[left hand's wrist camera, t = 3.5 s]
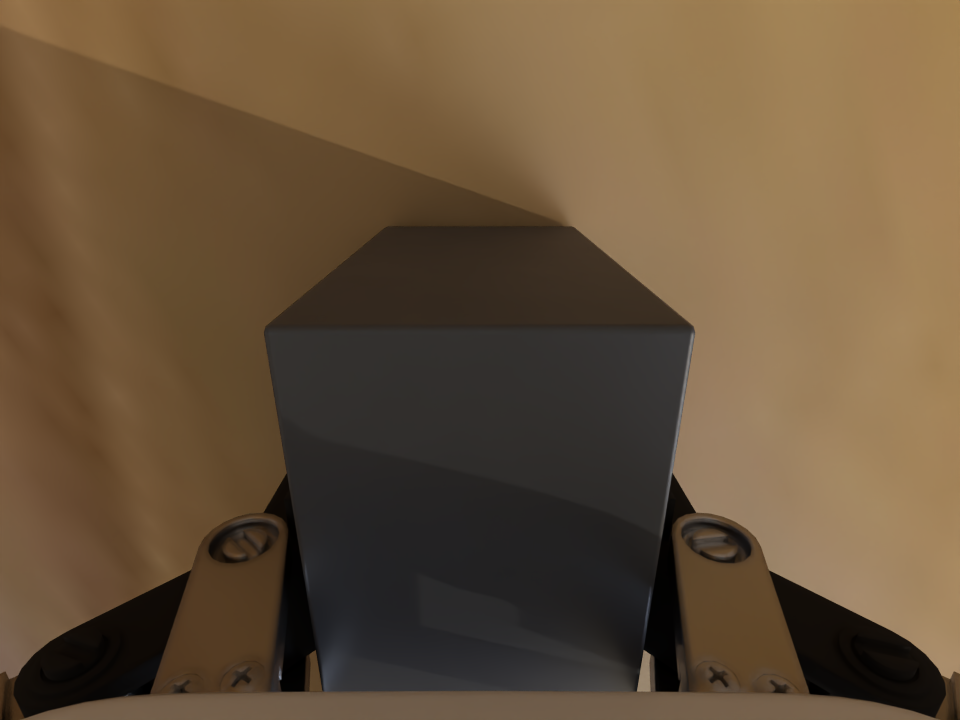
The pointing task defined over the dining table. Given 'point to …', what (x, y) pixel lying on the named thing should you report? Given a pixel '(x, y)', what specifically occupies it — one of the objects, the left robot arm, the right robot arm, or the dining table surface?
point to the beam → (479, 459)
